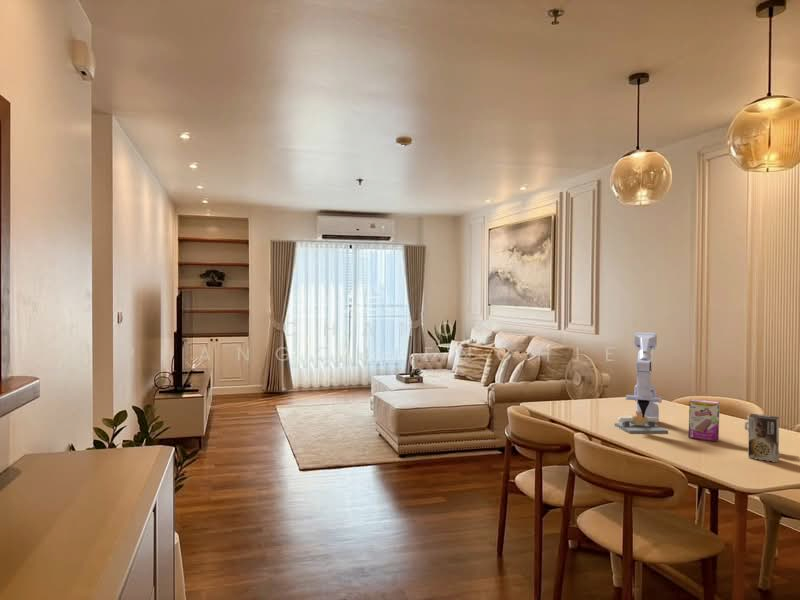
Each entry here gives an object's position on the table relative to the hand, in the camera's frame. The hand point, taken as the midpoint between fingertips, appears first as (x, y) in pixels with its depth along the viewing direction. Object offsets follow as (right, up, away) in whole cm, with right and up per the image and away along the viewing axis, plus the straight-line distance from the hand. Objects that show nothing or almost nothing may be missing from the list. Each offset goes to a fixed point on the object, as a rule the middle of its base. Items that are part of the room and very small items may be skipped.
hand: (643, 417), depth 236 cm
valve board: (+1, -7, +6) cm, 9 cm away
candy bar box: (+21, -7, -10) cm, 25 cm away
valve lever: (0, 0, +3) cm, 3 cm away
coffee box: (+28, -8, -38) cm, 48 cm away
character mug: (+34, -8, -25) cm, 43 cm away
